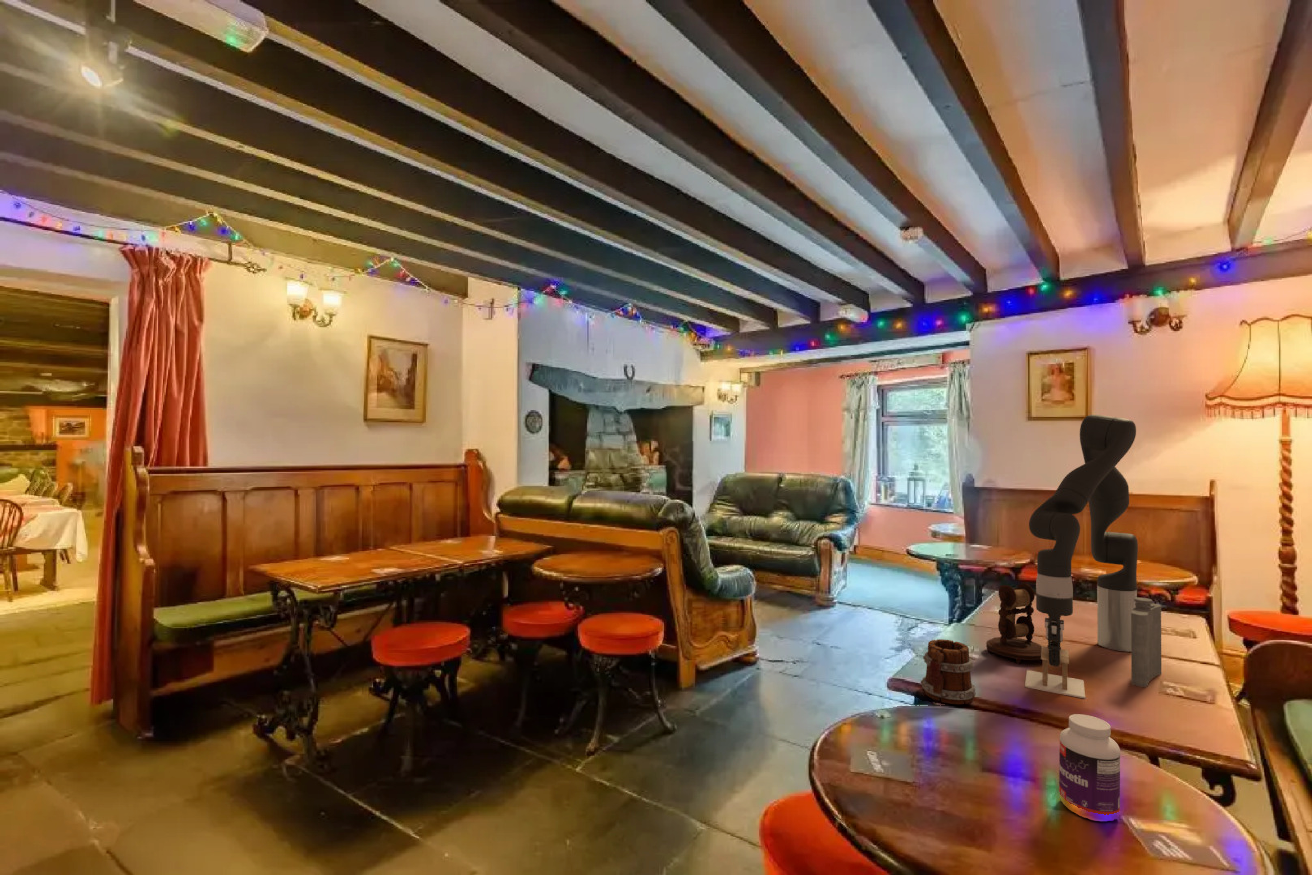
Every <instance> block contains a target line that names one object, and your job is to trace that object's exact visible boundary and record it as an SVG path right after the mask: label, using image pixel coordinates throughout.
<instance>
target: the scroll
mask: <svg viewBox="0 0 1312 875" xmlns="http://www.w3.org/2000/svg"><path fill="white" fill-rule="evenodd" d="M998 598H999V601H1000V605H999V607H1000V609H999V610H998V615H999V618H998V622H997V623H998V624H997V626H998V631H999V634H1000V636H997V637H993V638H990V639H988V640H987V641H986V644H985V646H986V650H987V652H988V653H991V652H992V653H994V654H997V655H999V656H1003V657H1007V658H1010V659H1015V661H1016V663H1017V664H1018V665H1019V664H1021V661H1022V660H1023V661H1040V660H1042V659H1041V649H1042V645H1041V644H1039V643H1037V642H1034V641H1033V638H1034V637H1033V634H1034V633H1035V626H1034V623H1033V618H1032V615H1033V613H1034V612H1035V609H1034V607H1033V602H1034V600H1035V598H1036V593H1035V592H1034V589H1033V587H1032V586H1031V585H1030V584H1028V583H1026V582H1025V583H1024V582H1023V583H1020V584H1018V585H1017V587H1016V589H1014V588H1013V587H1012V586H1010V585H1008V584H1003V585H1001V586H1000V587H999V589H998ZM1019 614H1026V615H1027V616H1025V615H1021V616H1019V617H1017V619H1016V615H1019ZM1024 637H1025V639H1024Z"/></svg>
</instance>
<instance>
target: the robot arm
mask: <svg viewBox="0 0 1312 875" xmlns="http://www.w3.org/2000/svg"><path fill="white" fill-rule="evenodd" d="M1136 437H1137V426H1136V423H1135V422H1134V421H1133V420H1131V419H1128V418H1124V417H1116V416H1112V415H1111V416H1110V415H1103V414H1089V415H1087V416H1085V417H1084V418H1083V419H1082V421H1081V424H1080V428H1079V442H1080V448H1081V452H1082V455H1083V456H1082V457H1083V461H1084V463H1083V464H1081V465H1080V466H1078V467H1076V468H1074V469H1073V470H1071V471H1070V472H1068V474H1066V476H1064V478H1063V479H1062V480H1061V482H1060V484H1058V487H1057V489H1056V490H1055V492H1054V494H1053V495H1052V496H1050V497H1049V498H1047V500H1045V501H1044V502H1043V503H1042V504H1041V505H1040V506H1039V507H1037V508H1036V509H1035V510H1034V512H1033V513H1032V514H1031V515H1030V518H1029V522H1028V529H1029V531H1030V533H1031V534H1032V536H1034V537H1036V538H1038V539H1042V540H1049V541H1054V542H1055V544H1054V546H1053V548H1047V549H1040V550H1039V551H1038V553H1037V556H1036V558H1037V560H1036V564H1037V565H1036V566H1037V567H1036V569H1037V570H1036V572H1037V573H1036V574H1037V575H1036V582H1035V585H1036V586H1035V588H1036V589H1035V600H1036V602H1035V604H1036V605H1035V609H1036V611H1038V612H1039V613H1042V614H1046V615H1047V616H1048V617H1044V628H1045V640H1047V646H1046V647H1048V650H1049V661H1048V666H1049V665H1050V666H1051V667H1057V668H1058V667H1060V666H1061V663H1060V650H1061V649H1062V647H1061V643H1062V642H1063V641H1064V639H1063V638H1064V636H1063V635H1064V632H1063V631H1064V630H1065V620H1064V619H1061V618H1062V616H1063V617H1068V616H1072V615H1073V612H1074V605H1073V604H1074V598H1073V597H1074V593H1073V592H1074V590H1073V589H1074V585H1073V579H1072V578H1073V577H1072V559H1073V556H1074V552H1075V548H1076V547H1077V546H1076V545H1077V543H1078V540H1079V537H1080V533H1081V526H1080V525H1081V524H1080V522H1079V520H1078V518H1077V517H1076V516H1074V515H1077V514H1079V513H1080V514H1081V513H1082V512H1083V511H1084V509H1085V507H1086V506H1087V505H1088V508H1089V516H1090V550H1091V556H1092V558H1093V559H1094V561H1096V562H1098V563H1103V564H1108V565H1110V564H1112V565H1118V566H1123V567H1122V568H1120V569H1119V570H1117V571H1115V572H1110V573H1104V574H1100V575H1098V576H1097V580H1096V583H1097V584H1096V590H1097V591H1096V593H1097V595H1096V596H1097V601H1096V603H1097V606H1096V607H1097V616H1096V617H1097V632H1096V634H1097V645H1098V646H1101V647H1102V648H1105V649H1109V650H1113V651H1119V652H1130V653H1131V611H1132V610H1133V609H1134V608H1135V607H1136V606H1135V603H1136V602H1135V601H1134V598H1136V597H1138V586H1137V585H1138V583H1137V582H1138V581H1137V571H1138V567H1137V566H1138V554H1139V546H1138V545H1139V543H1138V539H1137V536H1135V535H1134V534H1132V533H1125V532H1117V531H1116V532H1115V531H1114V532H1112V531H1107V529H1108V528H1109V526H1111V524H1113V523H1114V522H1115V521H1117V519H1119V518H1120V517H1121V516H1122V515H1123V514H1124V513H1125V512H1126V511H1127V509H1128V508H1129V505H1130V490H1129V483H1128V481H1127V479H1126V477H1124V475H1123V474H1122V473H1121V472H1120V471H1119V469H1117V467H1116V466H1117V465H1118V464H1119V462H1121V460H1122V459H1123V458H1124V457H1125V455H1126V454H1127V453H1128V452H1129V450H1130V449H1131V448H1132V446H1133V445H1134V444H1133V443H1134V442H1135V439H1136Z"/></svg>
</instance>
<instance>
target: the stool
mask: <svg viewBox="0 0 1312 875" xmlns="http://www.w3.org/2000/svg"><path fill="white" fill-rule="evenodd" d="M1041 646H1042V645H1041ZM1041 660H1042V673H1043V676H1042V685H1044V686H1047V681H1048V674H1049V672H1048V671H1049V669H1048V668H1049V650H1048V647H1047V646H1042V649H1041ZM1060 664H1061V668H1062V669H1061V671H1062V672H1061V673H1062V674H1061V676H1062V689H1064V690H1067V677H1068V665H1070V651H1069V650H1067V649H1063V648H1061V650H1060Z"/></svg>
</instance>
